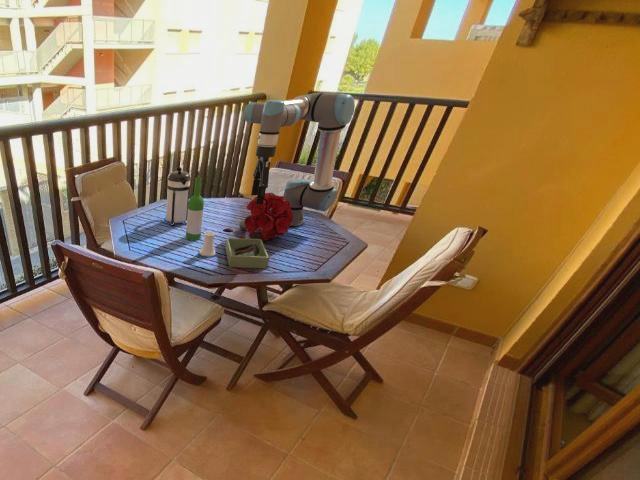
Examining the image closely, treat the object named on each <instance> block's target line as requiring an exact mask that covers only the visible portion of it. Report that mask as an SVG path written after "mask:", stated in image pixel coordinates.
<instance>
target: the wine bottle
mask: <svg viewBox="0 0 640 480" xmlns="http://www.w3.org/2000/svg"><path fill="white" fill-rule="evenodd" d="M201 188H202V178H201V177H195V179H194V189H193V195H192V196H191V197H189V203H188V214H187V220H186V223H187V225H186V227H185V237H186V238H187V240H190V241H198V240H200V238H201V237H202V236H201V235H202V227H203V216H204V206H205V201H204V198H203V197H202V196H201Z"/></svg>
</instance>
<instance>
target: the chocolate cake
mask: <svg viewBox="0 0 640 480" xmlns="http://www.w3.org/2000/svg"><path fill="white" fill-rule="evenodd" d="M234 251H235V252H236V254H235V256H256V255H258V254H259V253H260V247H259V245H258V242H255V243H251V244H247V245H243V246H240V247H236V248H234Z"/></svg>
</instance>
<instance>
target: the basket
mask: <svg viewBox="0 0 640 480" xmlns="http://www.w3.org/2000/svg"><path fill="white" fill-rule="evenodd" d="M255 242H258V245H259V247H260V253H259V254H258V255H256V256H235V254H236V252H235V251H234V248H236V247H240V246H243V245H247V244H251V243H255ZM224 250H225V253H226V259H227V263H228V267H229V268H244V269H245V268H246V269H247V268H248V269H268V265H269V260H270V256H269V254H268V252H267V248H266V247H265V245H264V241H263V240H262V238H239V237H237V238H236V237H226V241H225V246H224Z"/></svg>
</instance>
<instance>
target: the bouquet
mask: <svg viewBox="0 0 640 480" xmlns="http://www.w3.org/2000/svg"><path fill="white" fill-rule="evenodd" d="M269 193H270V192H265V196H264V201H263V204H256V201H257V195H255V197H254V198H253V199H251V200H250V201H249V203H248V204H247V205H246V209H247V210H249V211H250V214H249V215H248V216H246V217H245V218H244V219H242V220H240V221H239V224H238V226H239V228H240V230H243V231H244V230H246V231H247V232H248V234H249V235H252V234H254V233H256V232H257V231H258V229H259V230H261V231H260V235H261V236H260V239H261V240H262V242H264V241H269V240H271V239H272V238H275V237H279V236H281V237H283V236H285V235H286V233H288V232H289V228H291V227H290V225H291V223H292V220H293V218H292V217H294V215H292V212H291V207H290V203H289V201H287V200H285V201H283V200H284V199H285V197H283V196H284V195H277V194H275V195H273V194H274V193H273V194H269Z"/></svg>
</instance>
